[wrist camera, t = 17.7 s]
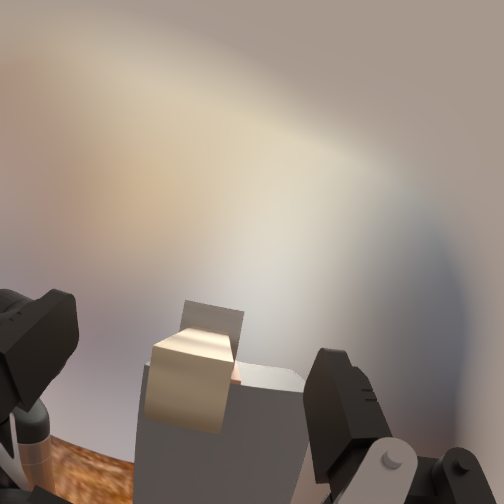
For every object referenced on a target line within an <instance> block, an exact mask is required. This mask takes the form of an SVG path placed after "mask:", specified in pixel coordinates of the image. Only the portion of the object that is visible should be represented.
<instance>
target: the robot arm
mask: <svg viewBox="0 0 504 504" xmlns="http://www.w3.org/2000/svg"><path fill="white" fill-rule="evenodd" d="M78 340H79V329H78V321H77V312H76V302H75V298H74V296H73V295H72V294H69V293H66V292H63V291H60V290H57V289H52V290H50V291H49V292H48V293H46V294H45V295H44V296H43V297H41V298H40V299H37V300H32V299H30V298H28V297H25V296H23V295H21V294H19V293H17V292H15V291H12V290H8V289H0V504H73V503H71V502H68V501H66V500H64V499H62V498H60V497H58V496H56V490H55V484H54V476H53V467H52V457H51V444H50V422H49V414H48V411H47V409H46V407H45V405H44V404H43V403H42V401H41V400H40V398H39V397H40V396H41V394H42V393H43V391H44V390H45V389H46V387H47V386H48V385H49V383H50V382H51V381H52V380H53V379H54V378H55V377H56V376H57V375H58V374H59V373H60V371H61V370H62V369H63V367H64V366H65V364H66V362H67V360H68V358H69V357H70V356H71V355H72V353H73V352H74V351H75V349H76V347H77V344H78ZM303 404H304V410H305V416H306V422H307V428H308V435H309V441H310V447H311V453H312V460H313V467H314V473H315V480H316V484H319V483H320V484H322V483H329V484H330V489H331V491H330V492H329V493H328V494H327V495H326V497H325V498H324V500H323V501H322V502H321V504H496V501H495V499H494V496H493V494H492V491H491V489H490V486H489V484H488V482H487V480H486V477H485V475H484V473H483V471H482V468H481V466H480V464H479V462H478V460H477V458H476V457H475V456H474V455H473V454H472V453H471V452H470V451H468V450H466V449H464V448H459V447H457V448H452V449H450V450H448V451H447V452H446V453H445V454H444V455H443V456H442V457H441V458H440V459H435V458H427V457H419V456H416V453H415V452H414V450H413V449H412V448H411V447H410V446H409V445H408V444H407V443H406V442H404V441H402V440H400V439H397V438H393V437H392V434H391V432H390V429H389V427H388V424H387V422H386V419H385V417H384V415H383V412H382V410H381V407H380V405H379V403H378V402H377V398H376V396H375V393H374V392H373V389H372V386H371V384H370V382H369V379H368V378H367V376H366V375H365V374H364V373H363V372H362V371H361V370H360V369H359V368H358V367H352V365H351V363H350V360H349V358H348V355H347V353H346V352H345V351H344V350H336V349H327V348H321V349H320V350H319V352H318V354H317V356H316V359H315V361H314V364H313V366H312V368H311V371H310V374H309V376H308V378H307V380H306V383H305V386H304V390H303Z"/></svg>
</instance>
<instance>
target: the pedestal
mask: <svg viewBox="0 0 504 504" xmlns="http://www.w3.org/2000/svg"><path fill="white" fill-rule="evenodd" d="M149 368H150V361H149V362H148V363H146V364H145V365H144V372H143V379H142V386H141V395H140V403H139V412H138V423H137V433H136V446H135V461H134V482H133V504H290V502H291V499H292V496H293V493H294V490H295V487H296V484H297V481H298V477H299V474H300V471H301V468H302V464H303V461H304V457H305V453H306V450H307V446H308V443H309V435H308V428H307V422H306V416H305V410H304V404H303V390H304V386H305V383H306V381H304V380H303V379H302V378H301V377H300V376H298V375H297V374H296V373H295V372H294V371H292V370H291V369H283V368H275V367H268V366H261V365H254V364H248V363H242V362H237V361H236V360H235V365H234V369H232V374H231V380H230V385H229V391H228V396H227V402H226V407H225V412H224V418H223V423H222V429H221V434H215V433H209V432H204V431H198V430H193V429H188V428H184V427H179V426H175V425H170V424H166V423H162V422H158V421H154V420H151V419H147V418H143V415H144V406H145V398H146V390H147V382H148V375H149Z"/></svg>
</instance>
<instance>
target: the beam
mask: <svg viewBox="0 0 504 504" xmlns="http://www.w3.org/2000/svg"><path fill="white" fill-rule="evenodd" d="M243 316H244V312H243V311H238V310H232V309H227V308H222V307H217V306H212V305H207V304H202V303H197V302H193V301H188V300H185V304H184V309H183V314H182V319H181V325H180V330H179V333H178V334H175V335H173V336H171V337H169V338H167V339H165V340H163V341H161V342H159V343H157V344H155V345H153V349H152V354H151V361H150V368H149V375H148V382H147V390H146V398H145V406H144V415H143V418H147V419H151V420H154V421H158V422H162V423H166V424H170V425H175V426H179V427H184V428H188V429H193V430H198V431H204V432H209V433H215V434H221V429H222V423H223V418H224V412H225V407H226V402H227V396H228V391H229V385H230V380H231V374H232V369H234V365H235V360H236V354H237V349H238V343H239V338H240V332H241V327H242V321H243Z"/></svg>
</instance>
